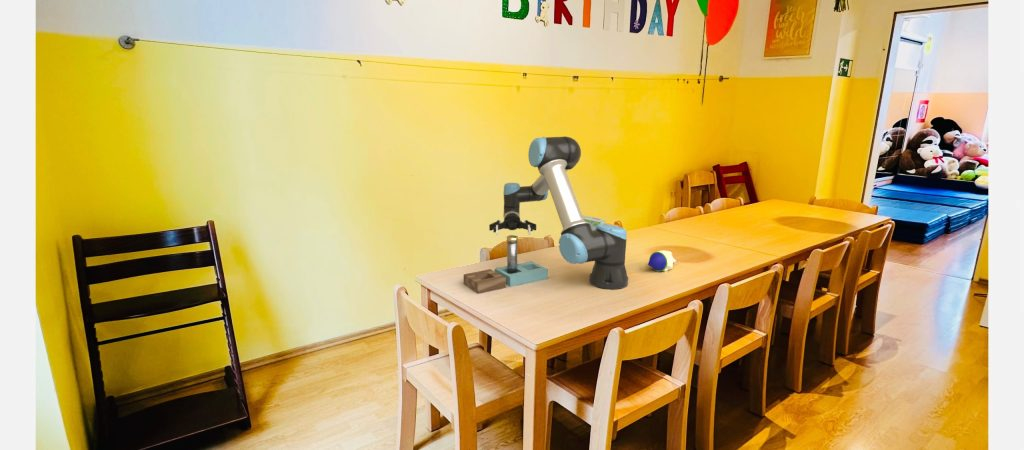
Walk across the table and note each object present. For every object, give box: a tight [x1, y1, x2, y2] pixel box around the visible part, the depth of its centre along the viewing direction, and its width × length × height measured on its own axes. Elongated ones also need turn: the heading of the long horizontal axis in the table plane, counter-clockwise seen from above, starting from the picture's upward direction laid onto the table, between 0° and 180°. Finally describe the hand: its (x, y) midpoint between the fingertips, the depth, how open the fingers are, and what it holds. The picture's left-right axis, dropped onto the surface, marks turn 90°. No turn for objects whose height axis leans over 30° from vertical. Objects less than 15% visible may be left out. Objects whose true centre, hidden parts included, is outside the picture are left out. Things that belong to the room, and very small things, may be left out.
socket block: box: [463, 269, 507, 295], centre depth 193 cm, size 12×12×4 cm
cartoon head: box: [647, 249, 678, 273], centre depth 212 cm, size 9×10×20 cm
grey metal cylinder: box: [506, 234, 519, 274], centre depth 198 cm, size 4×4×18 cm
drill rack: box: [494, 261, 549, 288], centre depth 202 cm, size 12×18×4 cm, turn 122°
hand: (513, 231), depth 207 cm, fingers open, 13 cm apart
